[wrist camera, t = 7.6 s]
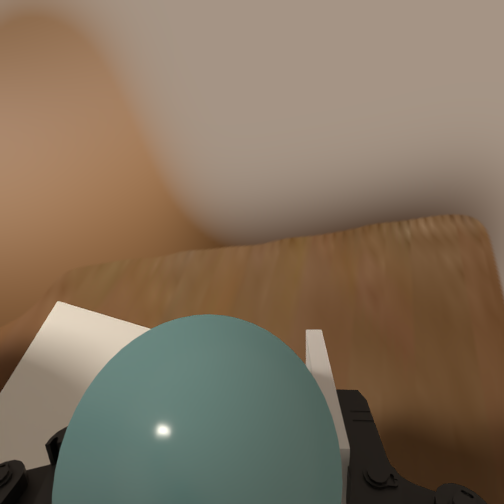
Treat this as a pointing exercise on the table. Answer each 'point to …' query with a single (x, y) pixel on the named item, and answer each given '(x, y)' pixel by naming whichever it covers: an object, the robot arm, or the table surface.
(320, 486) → the teal canister
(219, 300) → the table surface
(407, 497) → the robot arm
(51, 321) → the pale board
